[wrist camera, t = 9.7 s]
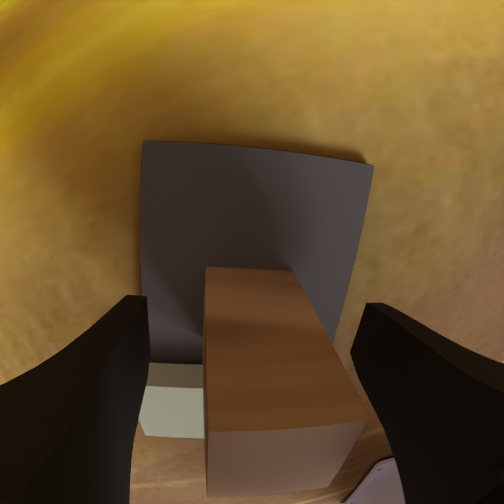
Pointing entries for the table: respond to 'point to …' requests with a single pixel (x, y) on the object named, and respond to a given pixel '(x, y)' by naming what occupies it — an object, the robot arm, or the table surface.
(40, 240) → the table surface
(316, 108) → the table surface
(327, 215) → the mat
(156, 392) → the sage tile
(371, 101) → the table surface
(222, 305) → the oak push block
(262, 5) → the table surface
